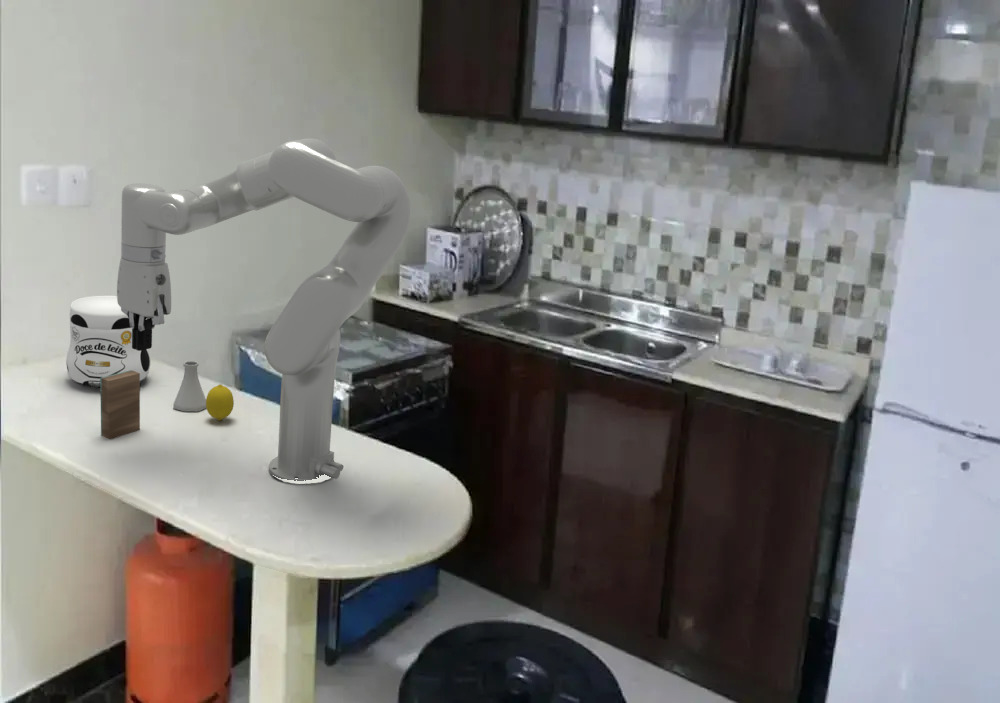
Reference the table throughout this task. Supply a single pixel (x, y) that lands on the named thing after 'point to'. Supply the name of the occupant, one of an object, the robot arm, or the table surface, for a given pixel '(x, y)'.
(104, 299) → the milk container
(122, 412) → the walnut slab
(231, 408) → the lemon
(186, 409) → the flask
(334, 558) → the table surface
